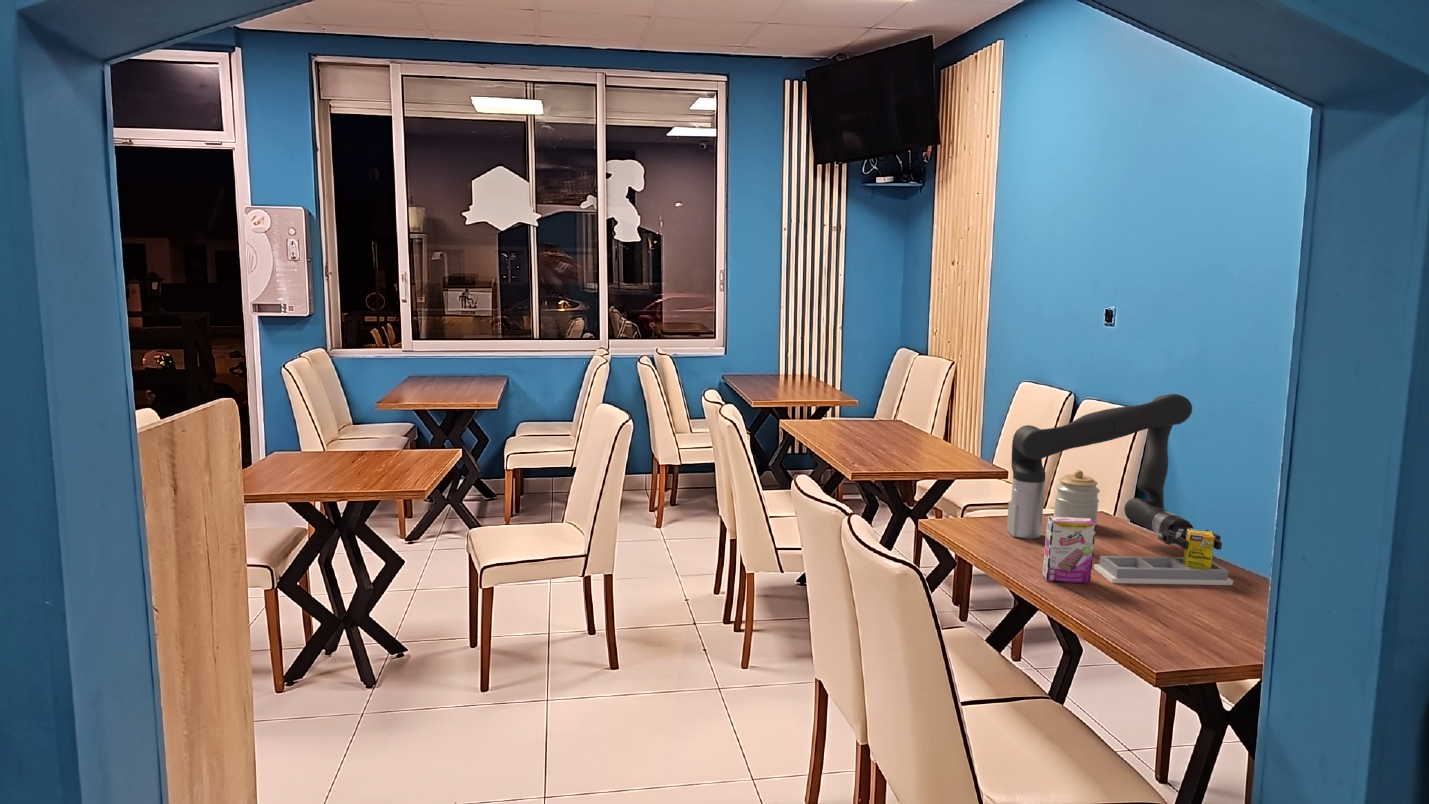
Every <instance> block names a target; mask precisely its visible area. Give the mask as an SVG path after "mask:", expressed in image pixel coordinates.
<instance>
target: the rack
mask: <svg viewBox="0 0 1429 804" xmlns="http://www.w3.org/2000/svg"><path fill="white" fill-rule="evenodd" d="M1183 560H1184V556H1183V557H1178V556H1177V557H1176V556H1175V557H1173V556H1130V555H1129V556H1128V555H1127V556H1124V555H1123V556H1120V555H1119V556H1118V555H1100V556H1099V563H1097V564H1095V563H1094V564H1093V569H1094V570H1095V571H1096V572H1098V573H1099V574H1100V575H1101V574H1102V575H1101V576H1103V577H1104V578H1105V579H1106V580H1108V581H1109V582H1110V584H1111V583H1112V584H1141V585H1143V584H1147V585H1149V584H1151V585H1155V584H1156V585H1204V586H1205V585H1206V586H1207V585H1210V586H1213V585H1214V586H1215V585H1216V586H1233V583H1234V580H1233V579H1232V578H1230V577H1229V569H1226V568H1225V567H1224V566H1221V565H1219V564H1218V563H1216V562H1215V561H1213V560H1212V564H1211V569H1190V568H1189V567H1187V566H1186V565H1184V564H1183Z"/></svg>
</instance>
